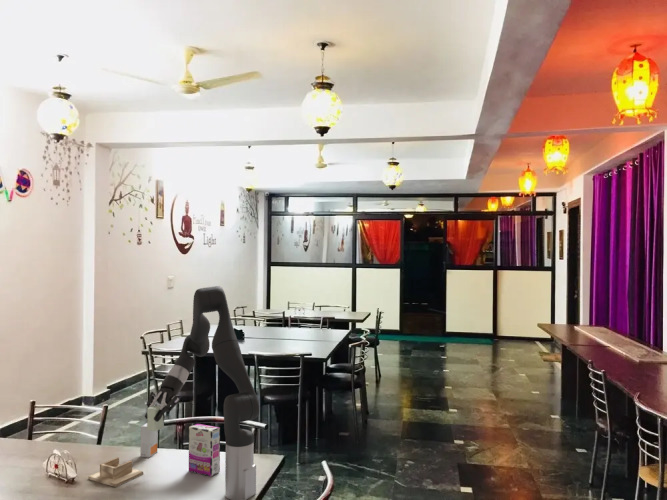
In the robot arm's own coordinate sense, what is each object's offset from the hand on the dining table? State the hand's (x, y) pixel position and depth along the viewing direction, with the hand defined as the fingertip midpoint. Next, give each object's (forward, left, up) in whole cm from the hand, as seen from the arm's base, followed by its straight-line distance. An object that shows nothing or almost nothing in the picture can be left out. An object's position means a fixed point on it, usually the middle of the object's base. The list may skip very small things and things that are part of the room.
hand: (151, 419), depth 194 cm
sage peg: (0, -2, -4) cm, 5 cm away
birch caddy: (+7, +10, -19) cm, 22 cm away
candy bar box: (-18, -8, -19) cm, 28 cm away
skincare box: (+13, -11, -19) cm, 25 cm away
